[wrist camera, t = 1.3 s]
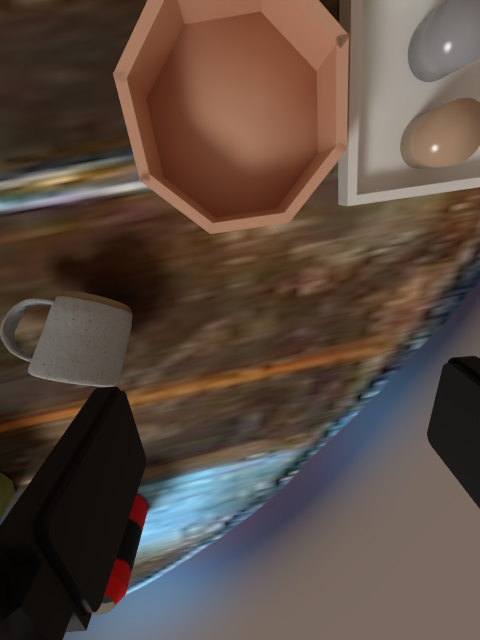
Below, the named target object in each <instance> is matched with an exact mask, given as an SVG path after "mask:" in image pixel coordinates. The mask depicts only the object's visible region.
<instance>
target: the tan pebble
mask: <svg viewBox="0 0 480 640" xmlns="http://www.w3.org/2000/svg"><path fill="white" fill-rule="evenodd" d="M479 146H480V102H479V101H477V100H475V99H473V98H460V99H456V100H454V101H451V102H449V103H446V104H444V105H441V106H439V107H436V108H434V109H431V110H429V111H426V112H423V113H421V114H419V115H418V116H416V117H415V118H414V119H413V120H412V121H411V122H410V123H409V124H408V125H407V127H406V129H405V130H404V132H403V135H402V138H401V143H400V152H401V156H402V158H403V160H404V162H405V163H406V164H407V165H408V166H410V167H412V168H415V169H423V168H433V167H443V166H453V165H457V164H460V163H462V162H464V161H465V160H467V159H468V158H469V157H471V156H472V155H473V154H474V153H475V151H476V150H477V149H478V148H479Z"/></svg>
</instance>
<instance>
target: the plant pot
mask: <svg viewBox="0 0 480 640" xmlns="http://www.w3.org/2000/svg"><path fill="white" fill-rule="evenodd" d="M14 494H15V490H14V484H13V482H12V481H11V480H10V479H9V478H8V477H7V476H5V475H4V474H2V473H0V520H1V518H2V516H3V514H4V513H5V511H6V509H7V507H8V505H9V503H10V501H11V499H12V498H13V496H14Z"/></svg>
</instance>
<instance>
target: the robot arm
mask: <svg viewBox="0 0 480 640" xmlns="http://www.w3.org/2000/svg"><path fill="white" fill-rule="evenodd" d="M427 436H428V440H429V443H430V444H431V446H432V447H433V449H434V450H435V451H436V452H437V454H438V455H439V456H440V458H441V459H442V460H443V461H444V463H445V464H446V465H447V467H448V468H449V469H450V471H451V472H452V473H453V475H454V476H455V477H456V478H457V479H458V481H459V482H460V484H461V485H462V486H463V488H464V489H465V490H466V491H467V493H468V494H469V495H470V497H471V498H472V499H473V501H474V502H475V503H476V504H477V506H478V507H479V508H480V358H478V357H476V356H468V357H455V358H451V359H450V360H449V361H448V363H446V364H445V365H444V366H443V368H442V373H441V376H440V381H439V385H438V389H437V393H436V397H435V402H434V406H433V410H432V414H431V418H430V423H429V427H428V432H427ZM145 463H146V458H145V453H144V450H143V447H142V443H141V440H140V437H139V434H138V431H137V427H136V424H135V421H134V418H133V415H132V411H131V408H130V405H129V402H128V399H127V395H126V393H125V392H124V391H120V389H119V388H118V387H105V388H97V389H95V390H94V391H93V392H92V394H91V395H90V397H89V398H88V400H87V401H86V403H85V404H84V405H83V407H82V408H81V410H80V411H79V413H78V414H77V416H76V417H75V418H74V420H73V421H72V423H71V424H70V426H69V427H68V429H67V430H66V431H65V433H64V434H63V436H62V437H61V439H60V440H59V442H58V443H57V444H56V446H55V447H54V449H53V450H52V452H51V453H50V455H49V456H48V457H47V459H46V460H45V462H44V463H43V465H42V466H41V468H40V469H39V470H38V472H37V473H36V475H35V476H34V478H33V479H32V480H31V482H30V483H29V485H28V486H27V488H26V489H25V491H24V492H23V493H22V495H21V496H20V498H19V499H18V501H17V502H16V504H15V505H14V506H13V508H12V509H11V511H10V512H9V514H8V515H7V517H6V518H5V519H4V521H3V522H2V524H1V525H0V640H63V637H64V634H65V632H73V631H86V630H87V627H88V624H89V621H90V618H91V615H92V613H94V612H97V610H98V609H99V608H100V606H101V603H102V601H103V598H104V595H105V592H106V588H107V585H108V582H109V579H110V576H111V573H112V570H113V566H114V563H115V560H116V557H117V554H118V551H119V548H120V544H121V541H122V538H123V535H124V532H125V529H126V526H127V522H128V519H129V516H130V513H131V510H132V507H133V504H134V500H135V497H136V494H137V491H138V488H139V485H140V481H141V478H142V475H143V472H144V469H145Z"/></svg>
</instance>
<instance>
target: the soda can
mask: <svg viewBox="0 0 480 640" xmlns="http://www.w3.org/2000/svg"><path fill="white" fill-rule="evenodd" d="M147 511H148V506H147V504H146V502H145V500H144V499H143V498H142V497H141V496H140V495H138V494H136V497H135V500H134V504H133V507H132V510H131V513H130V516H129V519H128V522H127V526H126V529H125V532H124V535H123V538H122V541H121V544H120V548H119V551H118V554H117V557H116V560H115V563H114V566H113V570H112V573H111V576H110V579H109V582H108V585H107V588H106V592H105V595H104V598H103V601H102V603H101V606H100V608H99V609H98V610H97V612H94V613H92V615H99V614H104V613H107V612H109V611H111V610H112V609H113V608H114V606H115V605H116V604H117V603H118V602H119V601H120V600H121V599H122V598H123V597H124V596H125V594H126V591H127V587H128V584H129V580H130V576H131V572H132V568H133V565H134V561H135V557H136V553H137V549H138V545H139V542H140V538H141V534H142V530H143V526H144V523H145V519H146V515H147Z"/></svg>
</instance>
